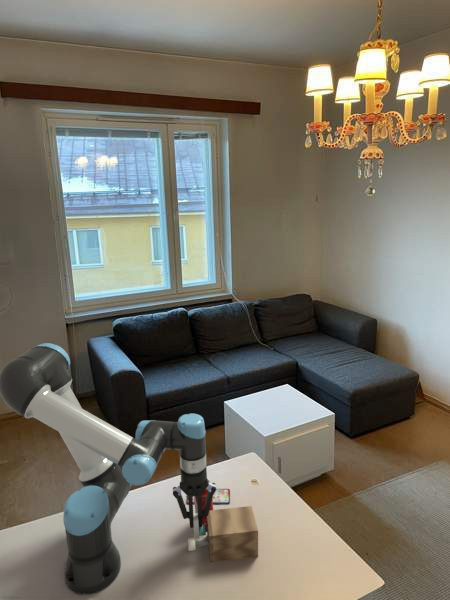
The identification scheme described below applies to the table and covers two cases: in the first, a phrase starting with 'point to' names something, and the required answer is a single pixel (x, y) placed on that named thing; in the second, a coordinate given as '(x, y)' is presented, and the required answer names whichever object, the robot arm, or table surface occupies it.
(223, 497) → the smartphone
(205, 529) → the teal knob
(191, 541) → the cream knob
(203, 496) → the beverage can
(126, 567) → the table surface
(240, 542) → the console
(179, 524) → the table surface
